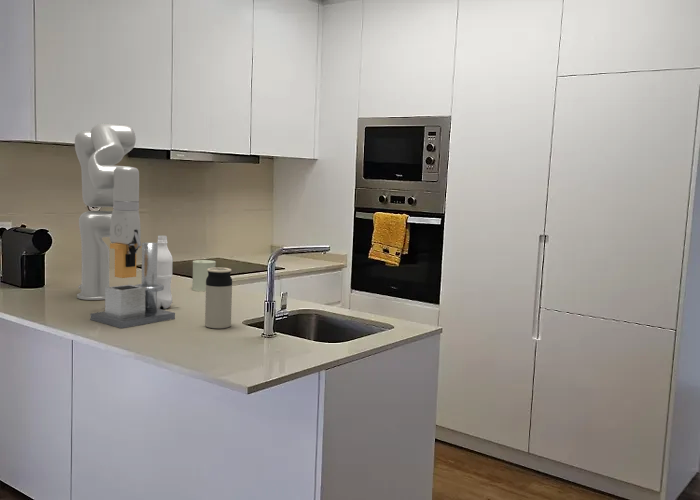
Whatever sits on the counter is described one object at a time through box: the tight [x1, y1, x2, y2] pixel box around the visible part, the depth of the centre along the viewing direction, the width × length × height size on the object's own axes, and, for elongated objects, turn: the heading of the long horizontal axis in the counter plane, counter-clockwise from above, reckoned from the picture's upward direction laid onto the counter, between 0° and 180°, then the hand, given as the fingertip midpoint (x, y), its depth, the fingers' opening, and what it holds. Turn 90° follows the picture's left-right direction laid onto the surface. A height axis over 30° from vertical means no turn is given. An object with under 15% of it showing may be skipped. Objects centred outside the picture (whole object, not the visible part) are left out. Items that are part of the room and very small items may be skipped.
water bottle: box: [156, 235, 173, 310], centre depth 237 cm, size 7×7×25 cm
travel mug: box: [204, 267, 233, 330], centre depth 213 cm, size 8×8×18 cm
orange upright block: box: [109, 242, 142, 279], centre depth 214 cm, size 4×8×10 cm, turn 143°
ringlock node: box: [90, 241, 176, 329], centre depth 218 cm, size 16×20×24 cm
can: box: [191, 259, 217, 292], centre depth 276 cm, size 9×9×12 cm
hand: (125, 265), depth 214 cm, fingers closed on orange upright block, 4 cm apart
